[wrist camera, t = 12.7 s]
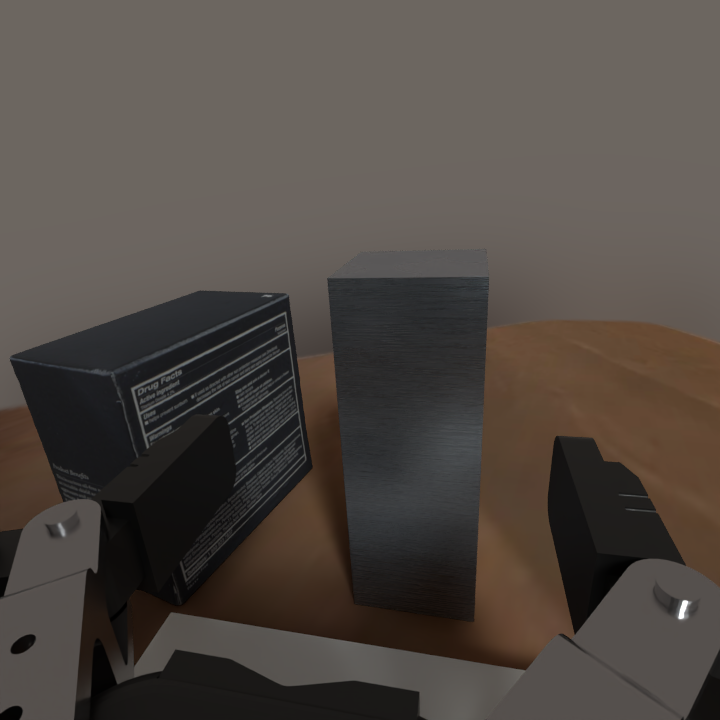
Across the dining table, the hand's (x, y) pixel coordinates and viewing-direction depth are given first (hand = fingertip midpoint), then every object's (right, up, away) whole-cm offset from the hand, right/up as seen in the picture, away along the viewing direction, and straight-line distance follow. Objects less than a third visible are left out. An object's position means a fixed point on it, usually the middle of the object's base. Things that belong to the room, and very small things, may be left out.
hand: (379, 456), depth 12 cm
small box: (-8, -6, +13) cm, 16 cm away
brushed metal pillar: (+2, -7, +9) cm, 11 cm away
